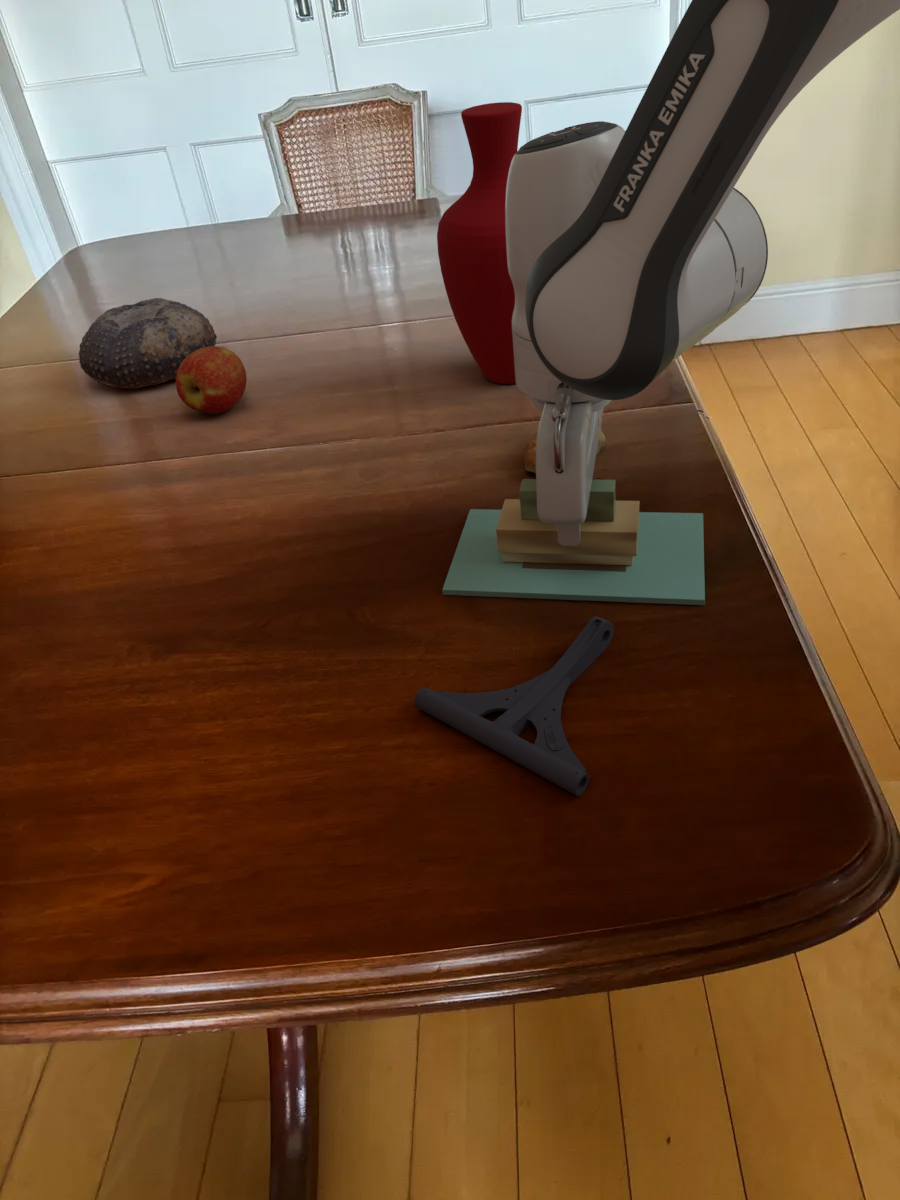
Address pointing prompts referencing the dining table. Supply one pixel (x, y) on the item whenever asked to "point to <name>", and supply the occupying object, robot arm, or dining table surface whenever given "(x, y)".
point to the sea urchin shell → (143, 342)
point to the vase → (483, 242)
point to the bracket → (527, 712)
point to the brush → (602, 533)
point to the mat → (587, 566)
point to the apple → (211, 380)
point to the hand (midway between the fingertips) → (575, 510)
